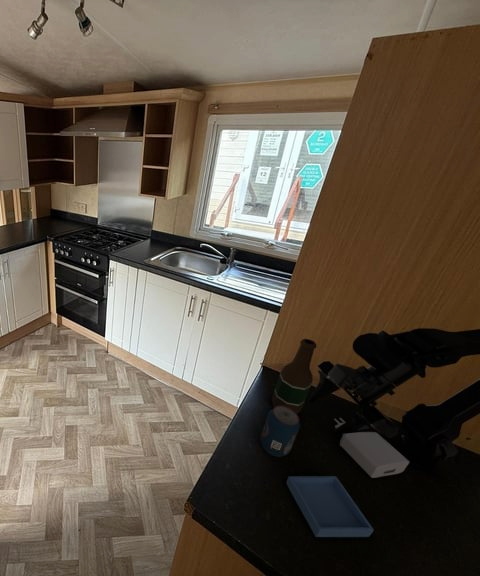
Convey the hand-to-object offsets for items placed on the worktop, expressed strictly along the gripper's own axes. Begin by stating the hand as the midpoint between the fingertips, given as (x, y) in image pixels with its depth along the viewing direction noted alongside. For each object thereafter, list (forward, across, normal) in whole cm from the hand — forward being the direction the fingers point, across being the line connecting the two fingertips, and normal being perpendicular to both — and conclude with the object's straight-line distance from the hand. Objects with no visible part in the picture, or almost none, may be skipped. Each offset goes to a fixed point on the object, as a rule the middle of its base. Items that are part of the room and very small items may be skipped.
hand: (321, 416), depth 73 cm
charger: (+2, -2, +21) cm, 21 cm away
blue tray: (+13, +13, +6) cm, 19 cm away
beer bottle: (+9, -16, +11) cm, 22 cm away
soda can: (+15, -2, +3) cm, 16 cm away
